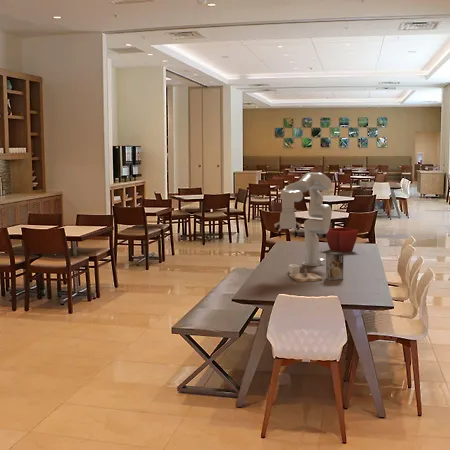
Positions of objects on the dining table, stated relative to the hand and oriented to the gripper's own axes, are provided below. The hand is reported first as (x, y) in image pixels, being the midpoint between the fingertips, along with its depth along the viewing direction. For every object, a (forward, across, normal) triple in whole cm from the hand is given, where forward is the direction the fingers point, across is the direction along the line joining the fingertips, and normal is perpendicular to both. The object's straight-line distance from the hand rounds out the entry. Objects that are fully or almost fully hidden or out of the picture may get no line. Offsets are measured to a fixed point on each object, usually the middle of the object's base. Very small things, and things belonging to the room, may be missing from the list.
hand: (287, 237), depth 394 cm
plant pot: (+24, -46, -89) cm, 103 cm away
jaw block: (+24, -5, -3) cm, 25 cm away
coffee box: (+24, -28, +12) cm, 39 cm away
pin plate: (+24, -11, +12) cm, 29 cm away
